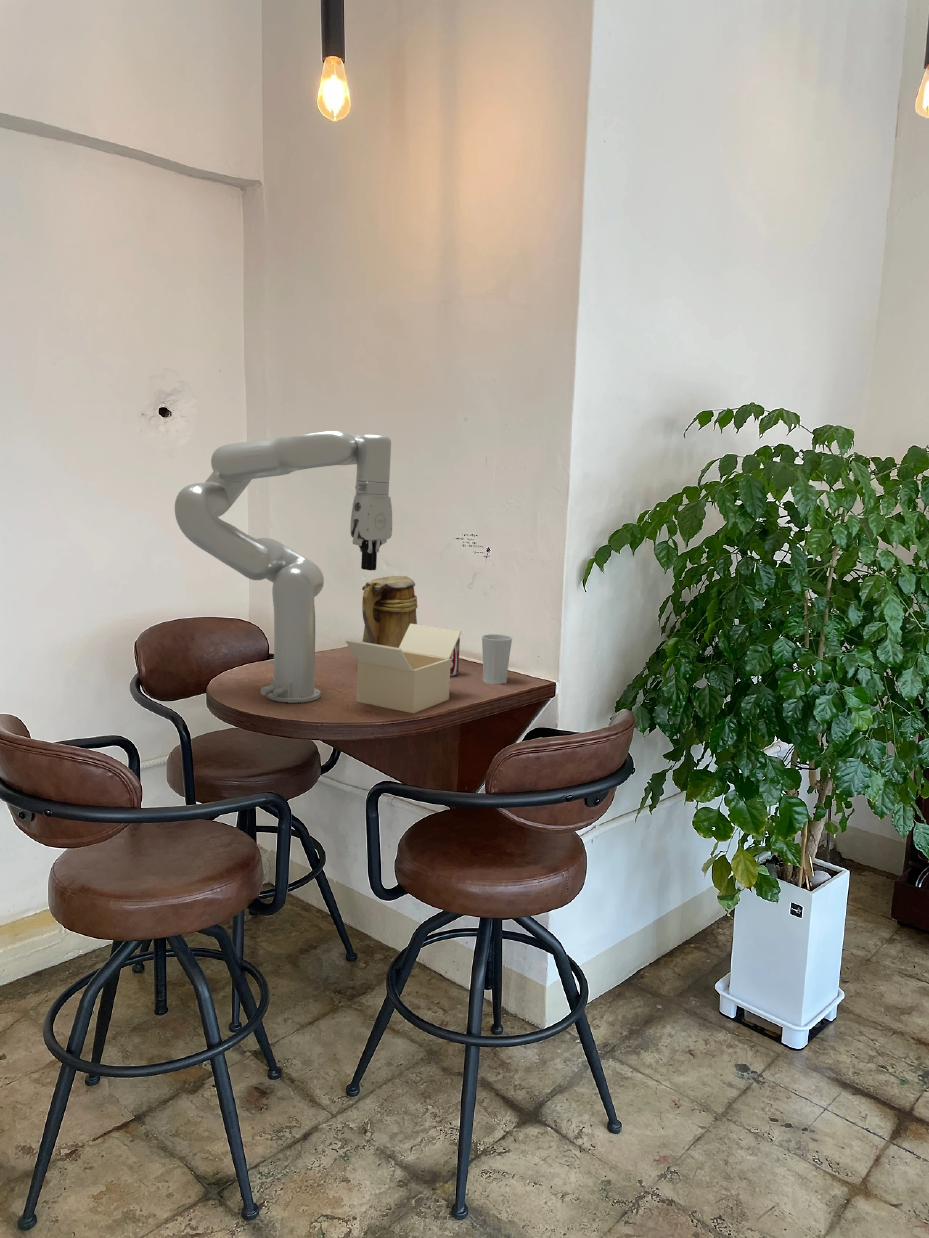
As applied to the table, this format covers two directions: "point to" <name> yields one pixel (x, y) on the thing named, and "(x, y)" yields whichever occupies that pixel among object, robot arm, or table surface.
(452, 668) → the soda can
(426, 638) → the back flap
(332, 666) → the table surface
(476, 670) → the table surface
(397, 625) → the tankard
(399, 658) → the front flap
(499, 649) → the cup
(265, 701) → the table surface
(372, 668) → the carton
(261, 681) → the table surface
